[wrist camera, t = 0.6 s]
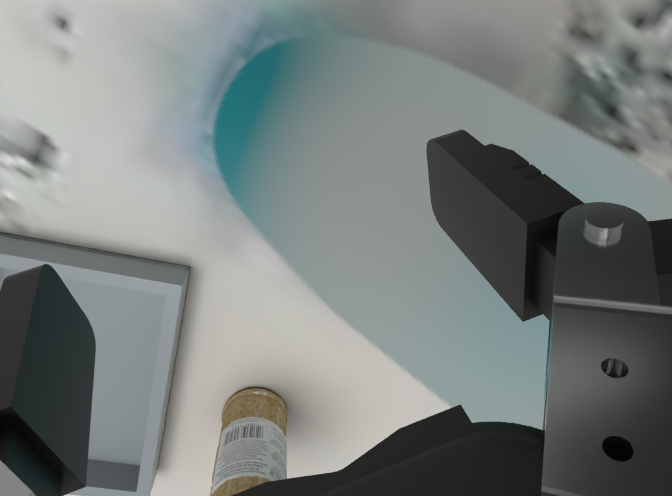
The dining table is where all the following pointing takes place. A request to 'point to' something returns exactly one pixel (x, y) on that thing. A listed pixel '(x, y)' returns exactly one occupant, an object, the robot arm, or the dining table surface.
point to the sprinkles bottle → (250, 442)
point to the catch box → (118, 352)
